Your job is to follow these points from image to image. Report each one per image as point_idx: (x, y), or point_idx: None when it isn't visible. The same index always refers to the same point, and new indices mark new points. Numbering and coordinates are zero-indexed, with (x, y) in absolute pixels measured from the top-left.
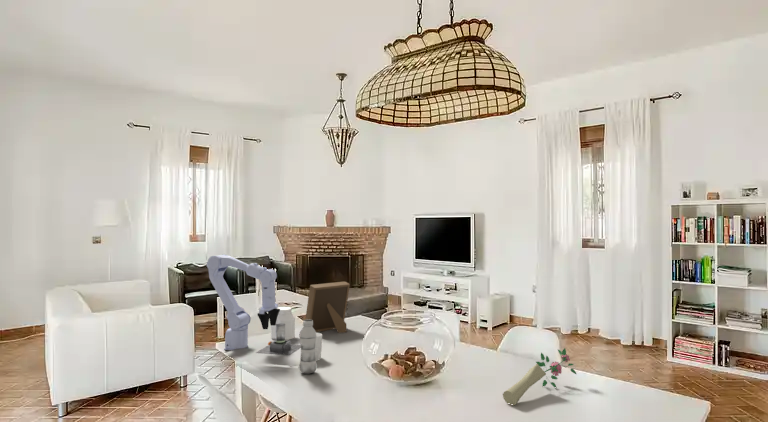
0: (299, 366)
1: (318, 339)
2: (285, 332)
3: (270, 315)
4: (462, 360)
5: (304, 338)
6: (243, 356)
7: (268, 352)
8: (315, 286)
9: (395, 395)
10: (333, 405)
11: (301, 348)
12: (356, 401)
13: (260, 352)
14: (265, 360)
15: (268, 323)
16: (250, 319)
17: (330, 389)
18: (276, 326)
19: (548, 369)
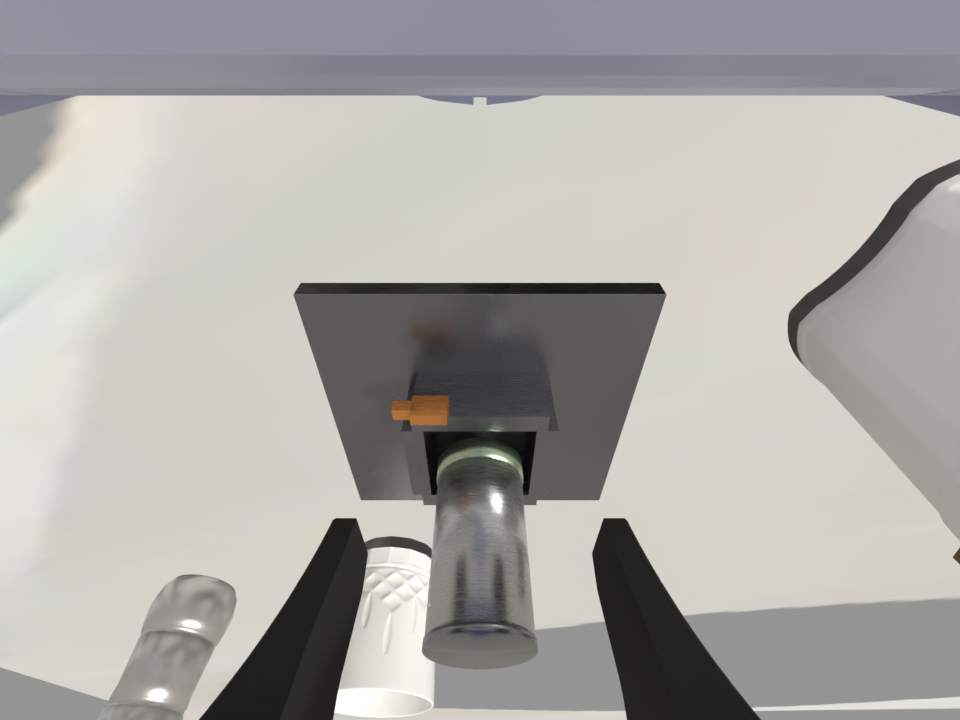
0: (155, 601)
1: (356, 693)
2: (849, 409)
3: (664, 717)
4: (505, 716)
5: None
6: (200, 190)
7: (357, 384)
8: None
9: (208, 687)
10: (44, 649)
11: (102, 711)
12: (112, 665)
13: (327, 331)
14: (233, 403)
15: (346, 649)
16: (951, 111)
17: (128, 633)
18: (434, 620)
19: None
